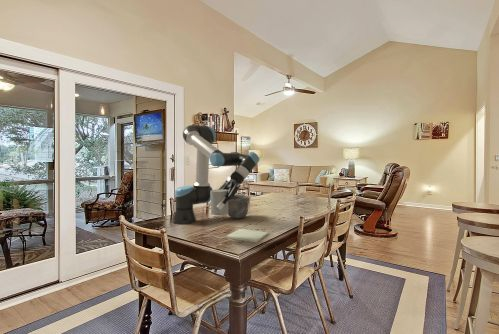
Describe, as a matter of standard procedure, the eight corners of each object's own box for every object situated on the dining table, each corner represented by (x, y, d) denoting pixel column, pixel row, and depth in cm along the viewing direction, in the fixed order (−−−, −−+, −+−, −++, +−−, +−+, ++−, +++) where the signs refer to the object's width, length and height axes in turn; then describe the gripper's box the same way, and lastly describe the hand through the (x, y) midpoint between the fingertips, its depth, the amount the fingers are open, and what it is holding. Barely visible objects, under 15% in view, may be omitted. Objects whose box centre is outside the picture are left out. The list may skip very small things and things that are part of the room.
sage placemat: (226, 237, 149) (226, 236, 149) (240, 230, 164) (240, 228, 163) (256, 242, 141) (256, 240, 141) (268, 234, 156) (268, 232, 156)
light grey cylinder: (221, 215, 142) (220, 192, 141) (206, 214, 147) (206, 191, 146) (232, 212, 150) (231, 189, 149) (218, 210, 155) (217, 188, 154)
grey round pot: (218, 218, 194) (218, 197, 194) (234, 213, 209) (233, 194, 208) (238, 221, 184) (238, 199, 184) (253, 216, 199) (253, 196, 198)
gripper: (254, 181, 147) (228, 214, 139) (233, 178, 165) (210, 207, 157) (245, 171, 143) (219, 205, 136) (225, 169, 162) (201, 199, 154)
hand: (214, 206), depth 147 cm, fingers closed on light grey cylinder, 9 cm apart
